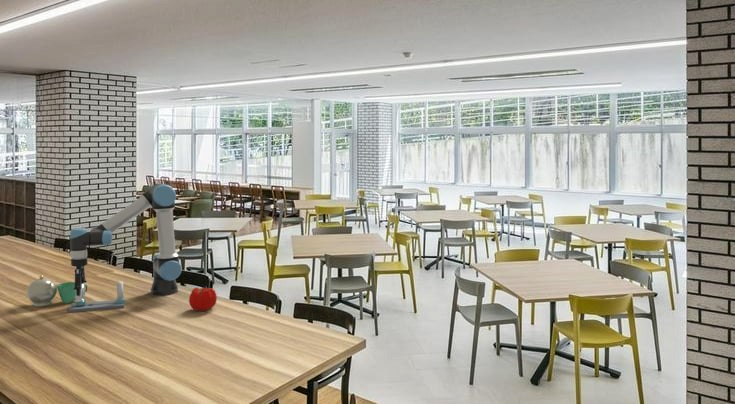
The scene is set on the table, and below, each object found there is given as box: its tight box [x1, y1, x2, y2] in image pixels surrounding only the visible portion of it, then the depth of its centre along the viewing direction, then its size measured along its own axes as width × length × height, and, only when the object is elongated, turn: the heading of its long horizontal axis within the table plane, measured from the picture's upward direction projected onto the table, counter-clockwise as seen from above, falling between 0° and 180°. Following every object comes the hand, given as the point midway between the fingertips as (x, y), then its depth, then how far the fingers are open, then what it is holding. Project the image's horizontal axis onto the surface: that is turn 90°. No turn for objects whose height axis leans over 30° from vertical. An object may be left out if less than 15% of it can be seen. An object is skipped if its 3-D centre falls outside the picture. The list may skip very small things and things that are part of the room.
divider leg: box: [75, 284, 87, 306], centre depth 279 cm, size 4×3×11 cm
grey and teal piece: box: [67, 281, 126, 313], centre depth 282 cm, size 26×12×12 cm, turn 111°
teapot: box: [26, 274, 58, 308], centre depth 284 cm, size 18×14×16 cm
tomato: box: [188, 287, 218, 312], centre depth 279 cm, size 13×14×12 cm
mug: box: [56, 281, 88, 304], centre depth 292 cm, size 15×10×10 cm
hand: (80, 298), depth 279 cm, fingers open, 12 cm apart
